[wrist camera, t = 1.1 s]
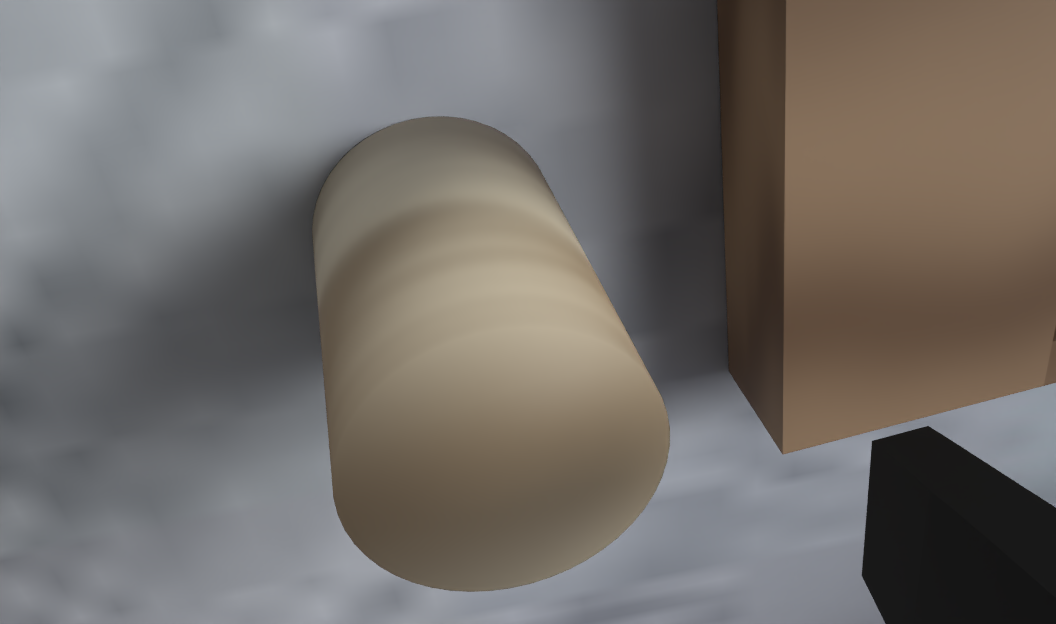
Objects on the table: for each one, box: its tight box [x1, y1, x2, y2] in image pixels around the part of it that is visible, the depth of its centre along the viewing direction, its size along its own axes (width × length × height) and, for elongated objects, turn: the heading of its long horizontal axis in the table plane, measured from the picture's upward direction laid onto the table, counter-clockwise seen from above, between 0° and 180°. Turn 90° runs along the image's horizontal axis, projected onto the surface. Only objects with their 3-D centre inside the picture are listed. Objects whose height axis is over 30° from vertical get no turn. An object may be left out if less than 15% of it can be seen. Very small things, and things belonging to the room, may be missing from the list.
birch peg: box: [312, 116, 670, 592], centre depth 14 cm, size 4×4×6 cm
